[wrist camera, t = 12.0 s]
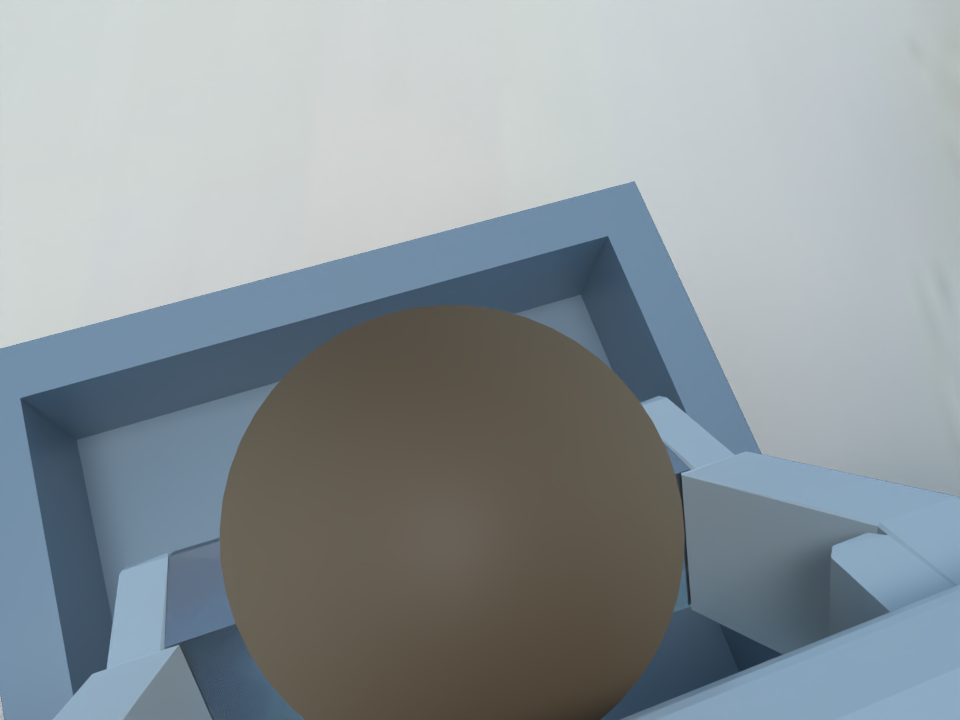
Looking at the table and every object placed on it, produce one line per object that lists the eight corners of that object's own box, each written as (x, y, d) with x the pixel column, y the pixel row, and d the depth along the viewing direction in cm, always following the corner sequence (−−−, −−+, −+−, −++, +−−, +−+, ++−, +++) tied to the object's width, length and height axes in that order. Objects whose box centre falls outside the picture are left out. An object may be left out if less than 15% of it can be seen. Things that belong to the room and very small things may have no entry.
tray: (597, 261, 20) (634, 180, 17) (847, 839, 16) (959, 878, 13) (32, 420, 18) (-51, 361, 15) (164, 1149, 14) (91, 1294, 11)
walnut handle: (507, 440, 16) (629, 170, 7) (602, 703, 14) (890, 733, 6) (251, 522, 15) (60, 316, 6) (326, 811, 13) (204, 1029, 5)
